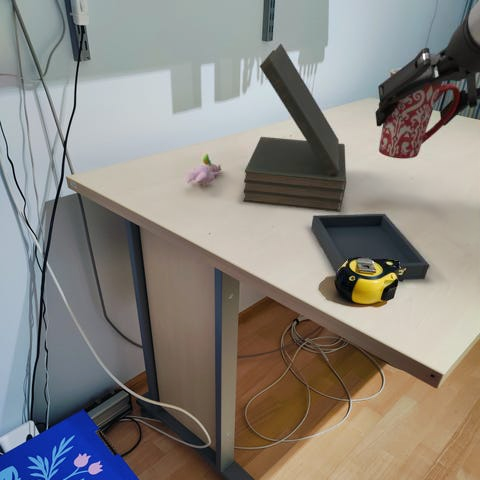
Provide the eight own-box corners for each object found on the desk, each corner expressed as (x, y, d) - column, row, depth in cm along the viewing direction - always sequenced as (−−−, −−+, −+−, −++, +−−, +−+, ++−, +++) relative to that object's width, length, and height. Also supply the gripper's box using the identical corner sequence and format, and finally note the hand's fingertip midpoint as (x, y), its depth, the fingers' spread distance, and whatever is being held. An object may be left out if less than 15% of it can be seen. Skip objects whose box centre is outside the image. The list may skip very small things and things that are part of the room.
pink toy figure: (202, 175, 99) (176, 189, 86) (202, 148, 96) (177, 158, 83) (227, 179, 98) (205, 193, 85) (229, 152, 95) (206, 162, 82)
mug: (376, 159, 77) (395, 75, 69) (370, 144, 84) (387, 66, 76) (447, 163, 76) (475, 79, 68) (435, 148, 83) (459, 69, 75)
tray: (381, 226, 79) (384, 213, 78) (424, 279, 66) (429, 264, 64) (311, 228, 78) (313, 215, 76) (340, 283, 64) (343, 268, 62)
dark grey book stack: (340, 212, 83) (369, 66, 67) (242, 201, 86) (248, 58, 70) (340, 170, 101) (363, 47, 85) (259, 163, 103) (266, 41, 87)
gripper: (409, 54, 56) (350, 139, 77) (575, 56, 59) (473, 137, 80) (403, 2, 56) (346, 100, 78) (567, 6, 59) (468, 99, 80)
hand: (410, 119), depth 79 cm, fingers closed on mug, 12 cm apart
